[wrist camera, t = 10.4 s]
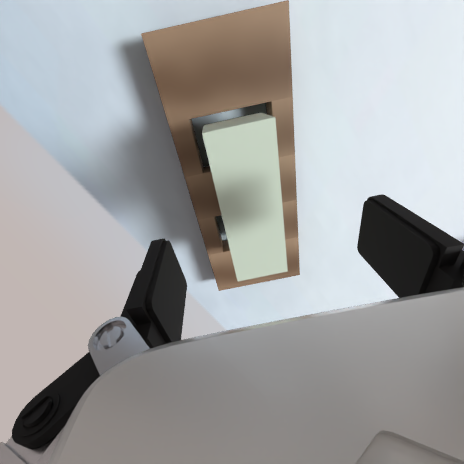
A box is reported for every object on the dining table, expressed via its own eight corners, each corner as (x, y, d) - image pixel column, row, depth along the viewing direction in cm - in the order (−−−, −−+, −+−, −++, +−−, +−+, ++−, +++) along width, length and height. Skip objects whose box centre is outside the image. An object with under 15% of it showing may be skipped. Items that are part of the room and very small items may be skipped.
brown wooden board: (148, 40, 15) (141, 33, 14) (279, 11, 15) (288, 0, 13) (218, 278, 27) (219, 290, 25) (293, 263, 27) (299, 274, 25)
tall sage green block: (204, 121, 18) (201, 133, 12) (253, 110, 18) (275, 117, 12) (230, 235, 24) (237, 281, 18) (267, 227, 24) (287, 271, 18)
